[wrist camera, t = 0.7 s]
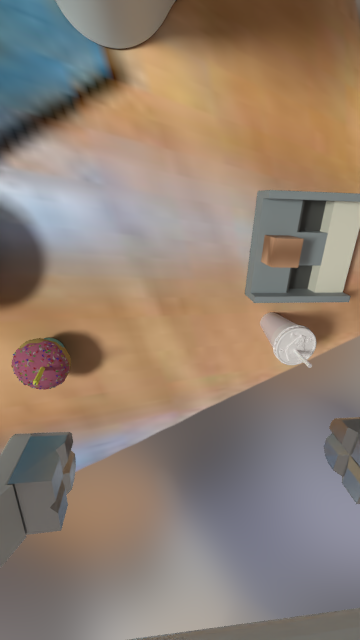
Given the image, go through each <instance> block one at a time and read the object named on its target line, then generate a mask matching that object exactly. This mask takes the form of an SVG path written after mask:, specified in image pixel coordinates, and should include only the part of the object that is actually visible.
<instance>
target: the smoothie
mask: <svg viewBox="0 0 360 640" xmlns="http://www.w3.org/2000/svg"><path fill="white" fill-rule="evenodd" d="M260 325H261V328H262V329H263V331H264V333H265V335H266V336H267V338H268V340H269V342H270V343H271V345H272V347H273V351H274V354H275V356H276V357H277V358H278V359H279V360H280V361H281V362H282V363H284V364H287V365H297V364H300V363H302V362H304V363H305V364H306V365H307V366H308V367H309V368H310V367H312V365H311V364H310V363H309V362H308V361H307V359H308V358H309V357H310V356H311V355H312V354H313V352H314V350H315V348H316V337H315V335H314V334H313V333H312V332H311V331H310V330H309V328H307V327H305V326H301V325H297V324H295V323H293V322H291V321H290V320H288V319H286V318H284V317H282V316H280V315H278V314H277V313H274V312H270V313H267V314H265V315H264V316H263V317H262V319H261V321H260Z"/></svg>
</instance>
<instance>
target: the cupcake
mask: <svg viewBox="0 0 360 640" xmlns="http://www.w3.org/2000/svg"><path fill="white" fill-rule="evenodd" d="M13 355H14V357H13V360H12V368H13V371H14V372H15V373H14V374H16V376H17V378H19V379H20V380H21V382H23V383H24V385H28V386H30V387H32V388H36V389H51V388H52V387H55V386H57V385H59V384H62V383H63V382H64V381H65V379H66V377H67V375H68V373H69V371H70V367H71V359H70V356H69V354H68V352H67V350H66V349H65V348H64V346H63V344H62V343H61V342H60V341H58V340H57V339H54V338H44V339H41V338H39V339H34V340H29V341H26V342H25V343H24V344H22V345H21V346H20V347H19V348H18V349H17V350H16V352H15V354H13Z"/></svg>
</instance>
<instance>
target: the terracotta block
mask: <svg viewBox="0 0 360 640" xmlns="http://www.w3.org/2000/svg"><path fill="white" fill-rule="evenodd" d="M303 240H304V239H302V238H298V237H294V236H288V235H265V237H264V244H263V251H262V258H261V262H262V263H264V264H266V265H268V266H270V267H279V268H298V266H299V260H300V255H301V250H302V245H303Z"/></svg>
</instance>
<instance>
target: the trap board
mask: <svg viewBox="0 0 360 640" xmlns="http://www.w3.org/2000/svg"><path fill="white" fill-rule="evenodd" d="M359 228H360V194H352V193H327V192H302V191H277V190H266V191H258V193H257V201H256V209H255V217H254V225H253V233H252V241H251V249H250V257H249V265H248V273H247V281H246V289H245V295H246V296H247V297H249V298H250V299H251V300H252V301H253V302H254V303H290V302H349V300H350V296H349V295H347V294H345V293H343V289H344V285H345V281H346V278H347V274H348V270H349V266H350V263H351V259H352V255H353V251H354V247H355V244H356V240H357V236H358V232H359ZM265 235H288V236H294V237H298V238H302V239H304V240H303V245H302V250H301V255H300V260H299V266H298V268H279V267H270V266H268V265H266V264H264V263H262V262H261V258H262V251H263V244H264V237H265Z"/></svg>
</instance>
